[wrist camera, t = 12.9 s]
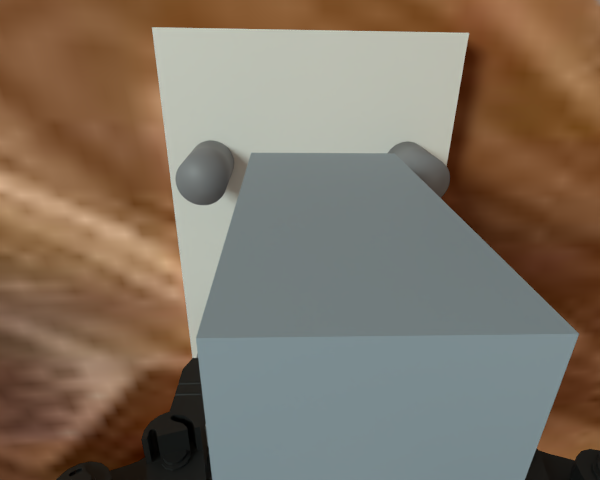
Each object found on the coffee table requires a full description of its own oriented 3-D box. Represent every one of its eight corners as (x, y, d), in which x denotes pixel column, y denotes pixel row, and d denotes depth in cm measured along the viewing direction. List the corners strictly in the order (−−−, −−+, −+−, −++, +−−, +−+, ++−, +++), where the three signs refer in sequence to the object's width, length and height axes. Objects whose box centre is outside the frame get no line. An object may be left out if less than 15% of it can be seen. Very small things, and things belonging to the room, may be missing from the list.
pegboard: (402, 374, 27) (423, 433, 23) (201, 378, 27) (187, 439, 23) (455, 33, 19) (504, 31, 15) (161, 28, 18) (127, 24, 14)
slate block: (366, 405, 20) (437, 714, 11) (260, 407, 19) (240, 723, 10) (394, 153, 14) (579, 334, 5) (251, 152, 14) (195, 338, 5)
